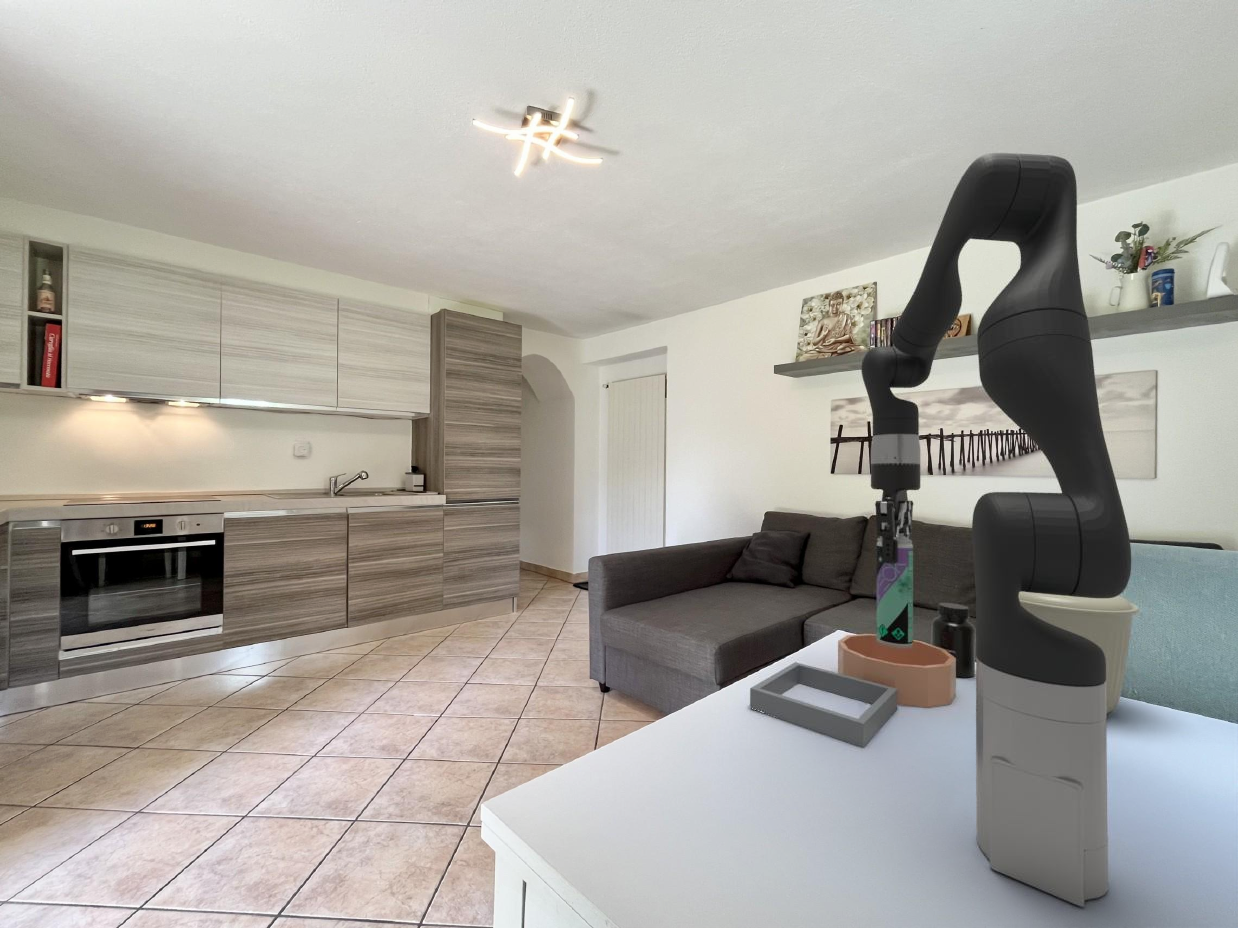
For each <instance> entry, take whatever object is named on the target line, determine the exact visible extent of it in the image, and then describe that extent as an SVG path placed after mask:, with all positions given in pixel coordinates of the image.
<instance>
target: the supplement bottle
mask: <svg viewBox="0 0 1238 928" xmlns="http://www.w3.org/2000/svg"><path fill="white" fill-rule="evenodd" d="M937 606H938V607H937V614H938V616H937V617H935V618H933V620H932V621H931V627H930V629H931V630H930V631H931V633H930V634H931V635H930V637H931V639H930V641H931V643H930V645H933V646H936V647H939V648H942V649H944V650H946V651H947V652H948V653H950V654H951V655H952V656H953V657H955V658H956V678H964V679H965V678H972V677H973V676H974V675H975V673H976V626H975V625H973V623H971V622H970V621H969V619H970V608H969V607H968V606H966V605H962V604H958V603H951V602H940V603H938V605H937Z"/></svg>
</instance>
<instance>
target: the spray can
mask: <svg viewBox="0 0 1238 928" xmlns="http://www.w3.org/2000/svg"><path fill="white" fill-rule="evenodd" d="M888 530H890V527H888ZM898 536H899V538H898V562H897V563H894V564H893V563H885V562H883V561H882V540H881V538H880V537H878V538H877V539H876V540H877V541H876V633H875V634H876V638H877V642H878V643H879V644H882V645H885V646H888V647H893V648H911V647H913V640H914V544H913V540H912V539H910V538H907V537H906V536H904V533H902V531H901V529H899V535H898Z"/></svg>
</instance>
